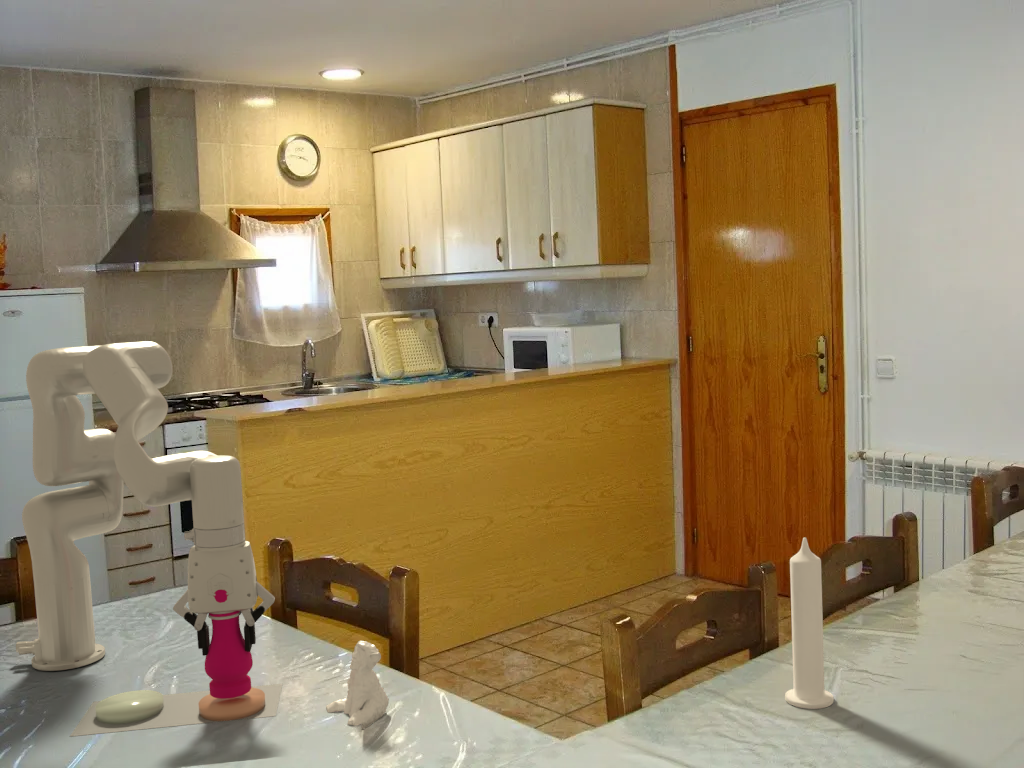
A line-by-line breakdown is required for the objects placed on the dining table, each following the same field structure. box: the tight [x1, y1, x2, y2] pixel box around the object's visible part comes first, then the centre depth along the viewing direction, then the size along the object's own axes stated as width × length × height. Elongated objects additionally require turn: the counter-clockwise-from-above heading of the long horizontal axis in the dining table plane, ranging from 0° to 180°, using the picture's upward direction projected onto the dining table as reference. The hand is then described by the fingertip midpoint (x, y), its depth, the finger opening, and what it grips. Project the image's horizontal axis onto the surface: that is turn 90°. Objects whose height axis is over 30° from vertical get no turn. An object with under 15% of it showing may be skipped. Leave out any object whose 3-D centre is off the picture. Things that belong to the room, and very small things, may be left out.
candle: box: [784, 536, 835, 710], centre depth 159 cm, size 7×7×25 cm
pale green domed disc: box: [95, 689, 164, 724], centre depth 166 cm, size 10×10×2 cm
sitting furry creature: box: [325, 640, 390, 731], centre depth 161 cm, size 10×9×12 cm
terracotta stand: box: [199, 686, 265, 722], centre depth 165 cm, size 10×10×2 cm
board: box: [69, 683, 284, 738], centre depth 166 cm, size 30×14×1 cm, turn 98°
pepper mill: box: [204, 590, 253, 699], centre depth 164 cm, size 7×7×20 cm
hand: (227, 649), depth 164 cm, fingers closed on pepper mill, 5 cm apart
